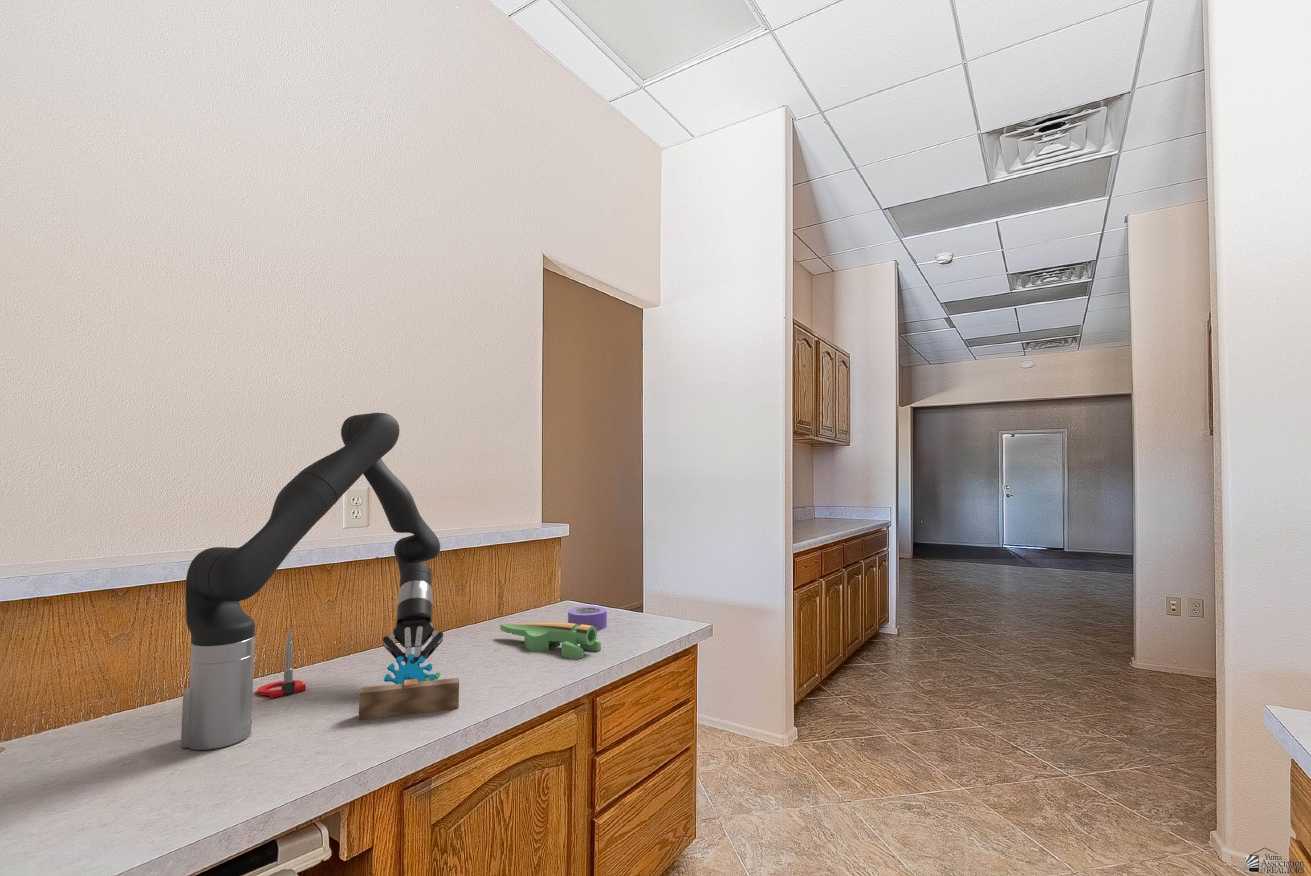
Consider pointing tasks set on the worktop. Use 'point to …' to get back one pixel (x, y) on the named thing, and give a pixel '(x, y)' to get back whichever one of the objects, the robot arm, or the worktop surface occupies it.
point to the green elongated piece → (557, 637)
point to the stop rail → (408, 698)
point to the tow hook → (288, 684)
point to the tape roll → (588, 616)
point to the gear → (410, 671)
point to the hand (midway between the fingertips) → (412, 676)
